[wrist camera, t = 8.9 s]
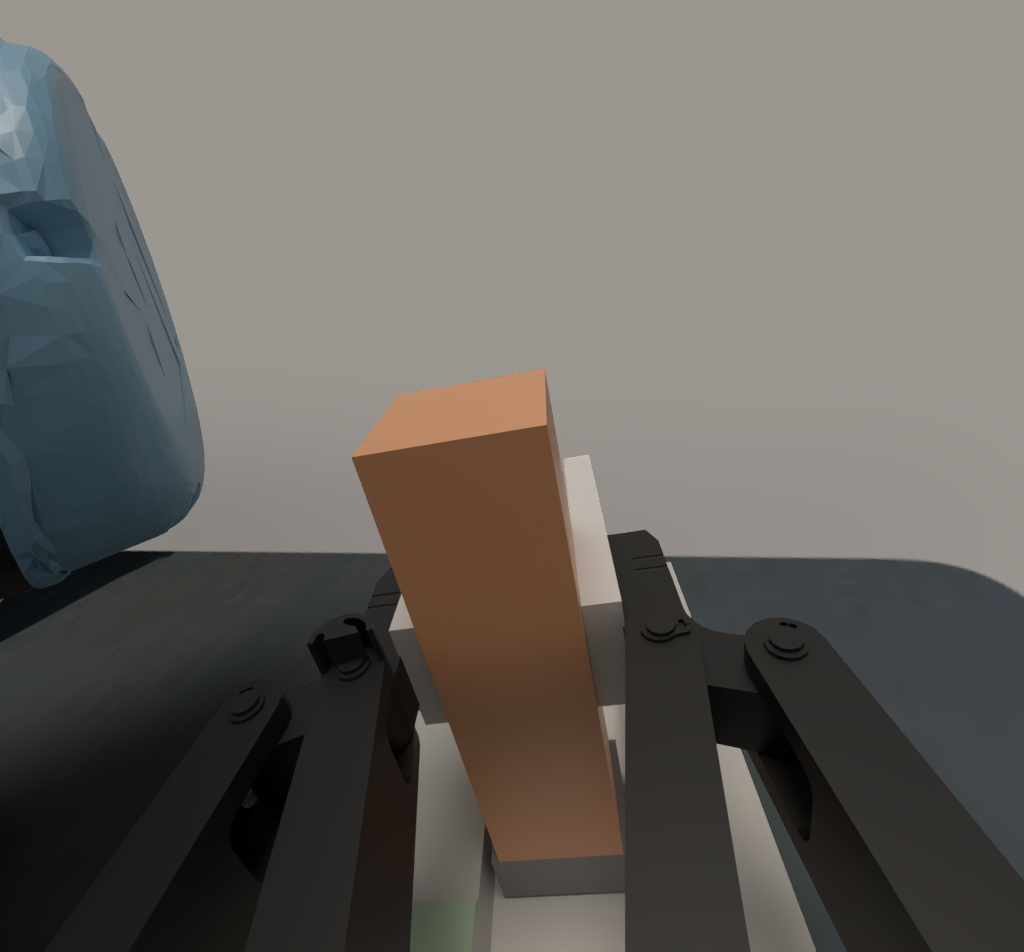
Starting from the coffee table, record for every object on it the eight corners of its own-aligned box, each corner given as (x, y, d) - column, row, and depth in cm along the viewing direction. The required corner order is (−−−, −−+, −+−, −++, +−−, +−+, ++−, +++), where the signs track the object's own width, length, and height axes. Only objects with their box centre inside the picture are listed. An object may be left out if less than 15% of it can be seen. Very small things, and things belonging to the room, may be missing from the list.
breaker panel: (979, 1527, 7) (1036, 1526, 6) (298, 1464, 8) (209, 1451, 7) (674, 616, 23) (670, 557, 22) (455, 642, 24) (438, 588, 23)
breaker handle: (638, 890, 13) (560, 422, 8) (504, 897, 14) (338, 459, 8) (621, 774, 16) (555, 366, 10) (510, 783, 16) (388, 396, 11)
